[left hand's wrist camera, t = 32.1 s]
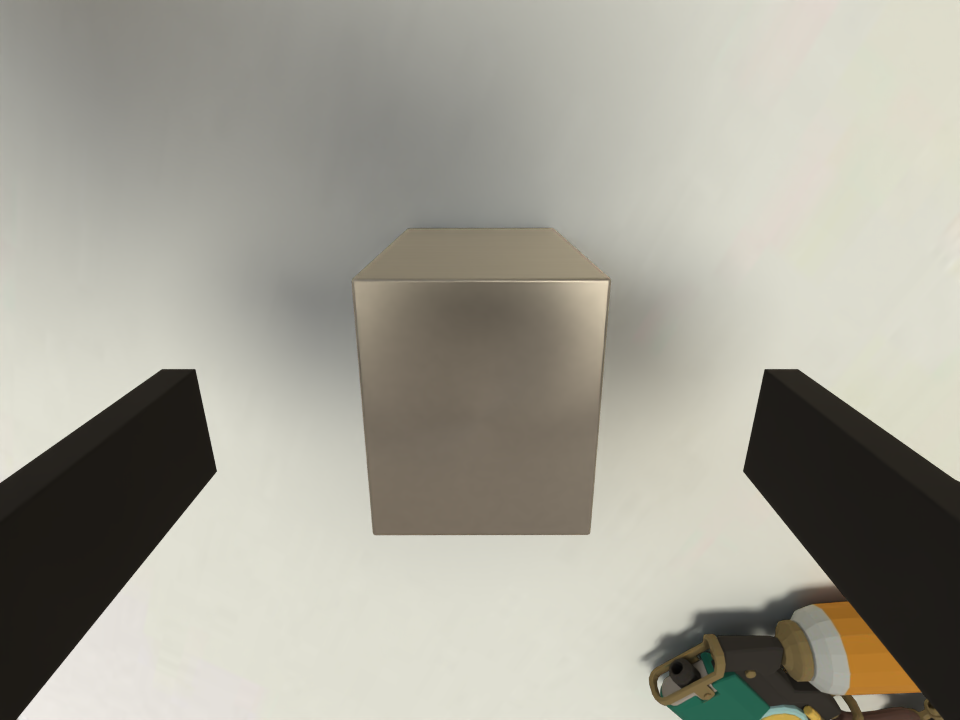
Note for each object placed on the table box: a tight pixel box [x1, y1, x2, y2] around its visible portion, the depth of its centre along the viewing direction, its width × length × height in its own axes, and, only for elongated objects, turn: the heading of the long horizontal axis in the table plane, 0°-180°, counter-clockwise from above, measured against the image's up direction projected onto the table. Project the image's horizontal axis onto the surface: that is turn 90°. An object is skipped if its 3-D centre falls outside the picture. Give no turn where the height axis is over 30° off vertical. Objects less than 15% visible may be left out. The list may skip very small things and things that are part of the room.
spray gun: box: [649, 601, 944, 720], centre depth 30 cm, size 4×17×15 cm
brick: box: [352, 228, 611, 535], centre depth 19 cm, size 6×7×10 cm
